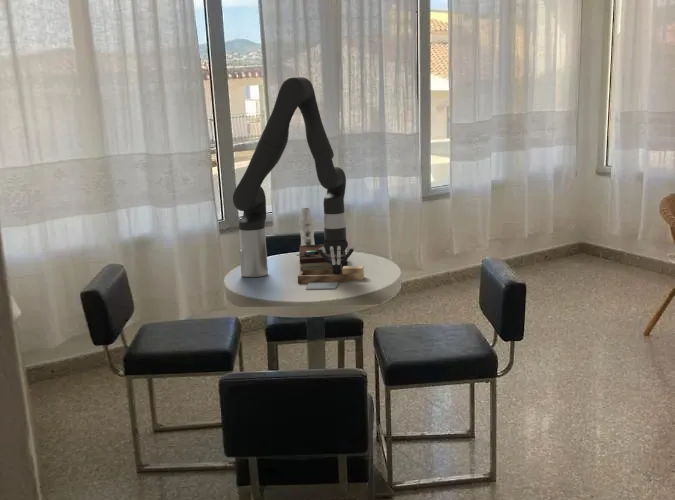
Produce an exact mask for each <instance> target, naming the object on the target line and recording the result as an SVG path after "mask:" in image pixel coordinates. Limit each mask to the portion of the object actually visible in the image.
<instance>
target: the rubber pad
mask: <svg viewBox="0 0 675 500" xmlns="http://www.w3.org/2000/svg"><path fill="white" fill-rule="evenodd" d="M338 285H339V282H312V283H307V285H306V288H305V290H307V291H308V290H309V291H310V290H311V291H312V290H315V291H316V290H336V289H337V287H338Z"/></svg>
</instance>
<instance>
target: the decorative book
mask: <svg viewBox="0 0 675 500" xmlns="http://www.w3.org/2000/svg"><path fill="white" fill-rule="evenodd" d="M323 244H324V243H322V244H320V243H319V244H315V245H302V246H301V245H299V253H298V254H296V256H298V257H299V264H300V269H299V270H300V272H301V270H326V269H333V267H332V264H330V263H327V262H326V261H325V260H324V258H323V257H322V256H321V255H320V254H319V253H318V250H319V249H320V248H322V247H323ZM325 251H326V252H325V253H326V254H327V255H328V257H329V258H330V259H331V255H330V254H329V253H328V252H327V250H326V249H325ZM347 253H348V252H347V251H346V250H345V251H344V252H343V254H341V259H343V258H344V257H345V255H346V254H347ZM336 264H337V255H336ZM343 266H348V260H347V261H346V262H345V263H342V264H341V269H342V268H343Z"/></svg>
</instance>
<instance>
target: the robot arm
mask: <svg viewBox="0 0 675 500" xmlns="http://www.w3.org/2000/svg"><path fill="white" fill-rule="evenodd" d="M315 93H316V91H315V89H314V86H313V84H312V82H311V81H310V80H309V79H308V78H306V77H304V76H289V77H287V78H286V79H285V80H283V82H282V83H281V85H280V87H279V90H278V93H277V97H276V100H275V103H274V106H273V108H272V112H271V114H270V116H269V118H268V120H267V122H266V125H265V127H264V130H263V131H262V133H261V135H260V137H259V140H258V141H257V144H256V146H255V149H254V152H253V154H252V157H251V159H250V161H249V163H248V166H247V167H246V170H245V172H244V174H243V176H242V178H240V179H241V180H239V182H238V184H237V186H236V188H235V189H234V192H233V194H232V202H233V205H234V207H235V209H237V211H240V212H243V214H242V216H241V219H240V220H239V221H238V228H239V232H238V233H239V242H240V243H239V245H240V250H239V265H240V275H241V277H243V278H244V277H246V278H260V277H265V276H267V275H268V274H269V267H268V252H267V241H266V226H265V225H266V224H265V222H266V220H267V198H266V193H265V191H264V188H263V187H262V184H263V182H264V181H265V179H266V178H267V176H268V175H269V174H270V172H271V171H272V170H273V169H274V168H275V166H277V164H278V163H279V161H280V160H281V159H282V158H281V157H282V155H283V153H284V151H285V149H286V147H287V145H288V141H289V134H290V125H291V124H290V123H291V121H292V118H293V116H294V114H295V112H296V110H297V109H299V111H300V113H301V115H302V119H303V122H304V127H305V129H304V130H305V137H306V142H307V146H308V148H309V150H310V154H311V155H312V158H313V160H314V164H315V165H314V167H315V171H316V176H317V179H318V182H319V184H320V185H321V186H322V187H323V189H326V196H325V197H324V198H323V234H324V236H323V237H324V242H323V243H322V244H323V247H322V248H320V249H319V250H318V253H319V254H320V255H321V256H322V257H323V258H324V260H325V261H326V262H327V263H330V264H332V267H333V274H335V275H339V274H340V273H341V264H342V263H345V262H346V261H347V262H348V259H349V258H350V257H351V255H352V254H353V252H354V250H355V248H354V247H352V246H351V245H349V242H348V241H347V226H346V225H347V222H346V214H345V202H344V200H345V194H346V188H347V187H346V185H347V177H346V173H345V171H344V170H343V169H342V168H341V167H339V166H335V165H334V162H333V159H334V157H335V155H334V150H333V148H332V145H331V143H330V141H329V138H328V135H327V133H326V130H325V127H324V124H323V121H322V117H321V113H320V110H319V105H318V102H317V97H316V94H315ZM325 249H326V250H327V252H328V253H329V254H330V255H331V259H330V258H329V257H328V255H327V254H326V253H325V252H326V251H325ZM344 251H345V252H348V253H346V255H345V257H344V258H343V259H341V254H343V252H344ZM336 255H337V264H336Z"/></svg>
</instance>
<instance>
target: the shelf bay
mask: <svg viewBox="0 0 675 500" xmlns="http://www.w3.org/2000/svg"><path fill="white" fill-rule="evenodd" d="M312 282H338V283H347V282H348V280H347V274H343V273H342V269H341V273H340V274H339V275H335V274H333V269H326V270H301V271H300V272H299V273H298V275H297V284H309V283H312Z"/></svg>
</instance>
